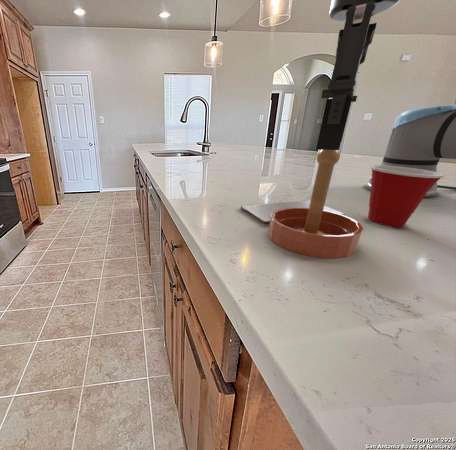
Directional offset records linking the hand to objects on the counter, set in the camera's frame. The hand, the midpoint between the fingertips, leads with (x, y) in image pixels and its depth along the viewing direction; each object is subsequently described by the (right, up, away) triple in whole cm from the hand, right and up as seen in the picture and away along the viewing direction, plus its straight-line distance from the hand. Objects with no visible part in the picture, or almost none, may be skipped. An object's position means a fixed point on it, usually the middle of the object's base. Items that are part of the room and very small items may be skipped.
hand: (330, 145), depth 40 cm
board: (+5, -10, +20) cm, 23 cm away
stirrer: (+1, -16, +7) cm, 17 cm away
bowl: (+1, -16, +7) cm, 18 cm away
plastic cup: (+22, -13, +13) cm, 29 cm away
